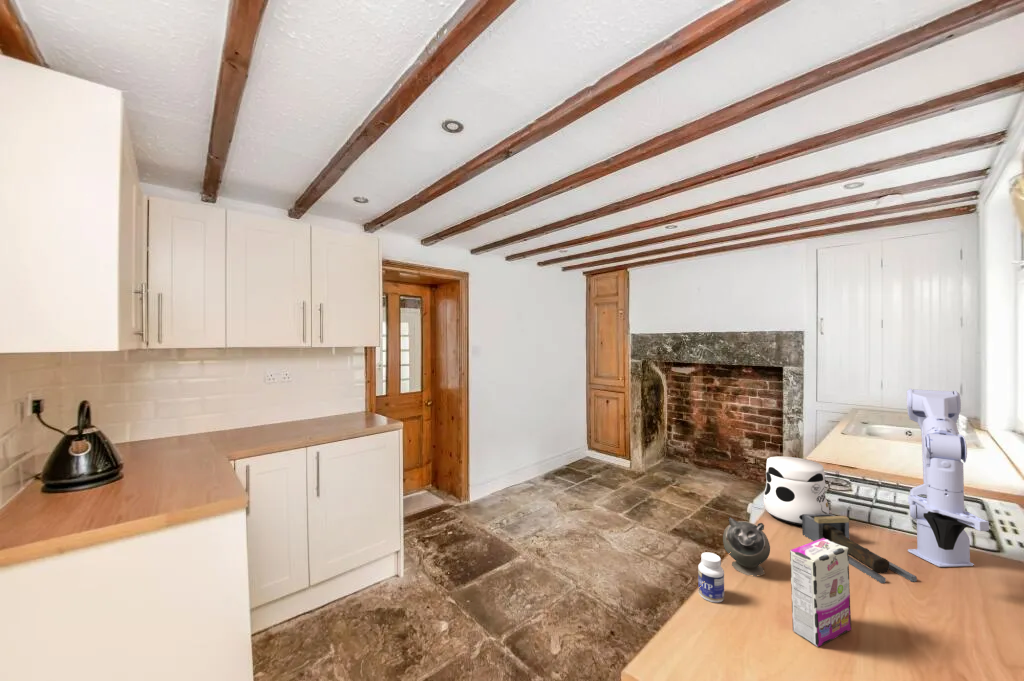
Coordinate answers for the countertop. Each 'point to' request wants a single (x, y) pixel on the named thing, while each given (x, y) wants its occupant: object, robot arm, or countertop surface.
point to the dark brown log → (856, 550)
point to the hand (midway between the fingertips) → (945, 548)
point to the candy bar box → (820, 591)
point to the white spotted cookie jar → (794, 488)
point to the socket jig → (814, 531)
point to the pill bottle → (711, 578)
